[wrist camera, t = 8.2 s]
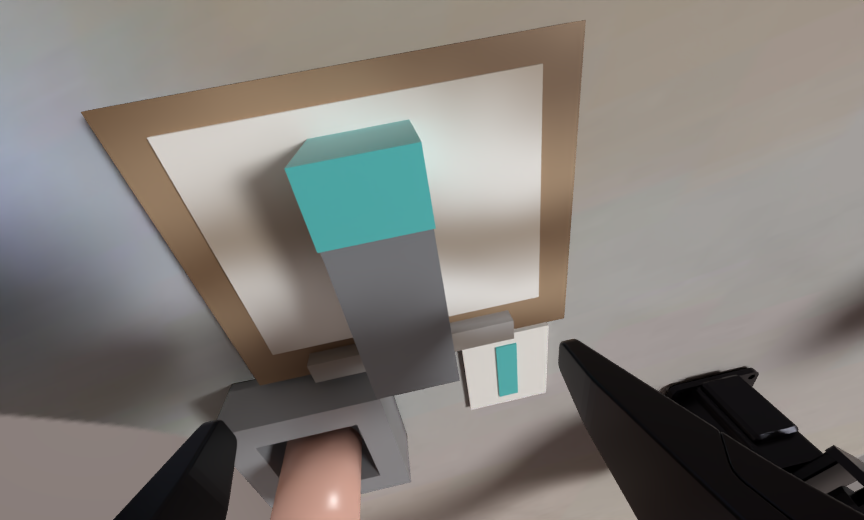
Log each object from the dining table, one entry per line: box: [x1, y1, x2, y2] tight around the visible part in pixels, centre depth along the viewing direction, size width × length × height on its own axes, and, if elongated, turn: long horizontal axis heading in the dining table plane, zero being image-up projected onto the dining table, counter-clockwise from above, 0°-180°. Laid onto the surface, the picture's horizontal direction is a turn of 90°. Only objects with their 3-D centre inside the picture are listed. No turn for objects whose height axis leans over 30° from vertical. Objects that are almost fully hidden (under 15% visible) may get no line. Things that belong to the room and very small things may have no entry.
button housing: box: [217, 372, 411, 508], centre depth 19 cm, size 8×8×3 cm
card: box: [462, 322, 549, 410], centre depth 21 cm, size 6×5×1 cm
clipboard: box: [81, 20, 586, 386], centre depth 14 cm, size 13×16×2 cm
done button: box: [270, 426, 362, 520], centre depth 17 cm, size 4×4×4 cm
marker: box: [284, 119, 460, 399], centre depth 13 cm, size 10×4×4 cm, turn 9°
